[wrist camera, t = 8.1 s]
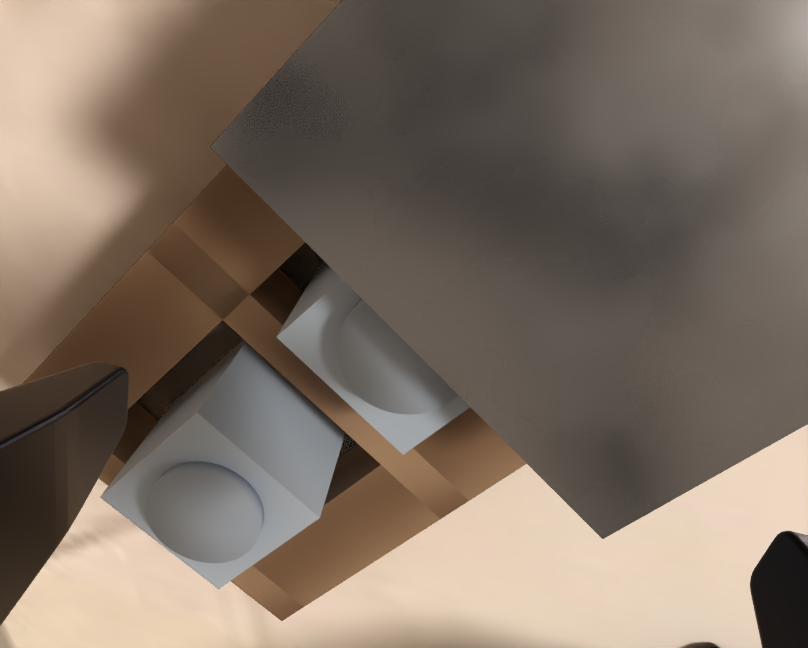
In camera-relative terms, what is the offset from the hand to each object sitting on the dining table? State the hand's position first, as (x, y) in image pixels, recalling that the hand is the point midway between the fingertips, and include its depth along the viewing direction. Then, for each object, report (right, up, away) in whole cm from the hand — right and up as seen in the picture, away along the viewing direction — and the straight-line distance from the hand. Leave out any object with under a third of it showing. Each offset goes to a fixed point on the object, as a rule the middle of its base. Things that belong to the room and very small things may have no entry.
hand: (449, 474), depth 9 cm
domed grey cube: (-6, -1, +14) cm, 15 cm away
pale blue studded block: (0, +4, +11) cm, 12 cm away
